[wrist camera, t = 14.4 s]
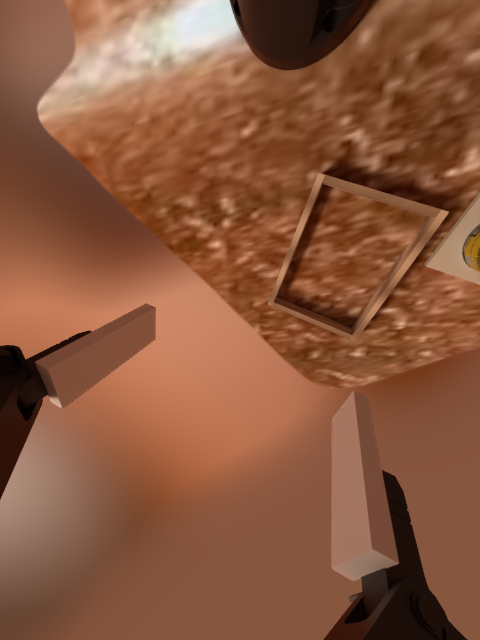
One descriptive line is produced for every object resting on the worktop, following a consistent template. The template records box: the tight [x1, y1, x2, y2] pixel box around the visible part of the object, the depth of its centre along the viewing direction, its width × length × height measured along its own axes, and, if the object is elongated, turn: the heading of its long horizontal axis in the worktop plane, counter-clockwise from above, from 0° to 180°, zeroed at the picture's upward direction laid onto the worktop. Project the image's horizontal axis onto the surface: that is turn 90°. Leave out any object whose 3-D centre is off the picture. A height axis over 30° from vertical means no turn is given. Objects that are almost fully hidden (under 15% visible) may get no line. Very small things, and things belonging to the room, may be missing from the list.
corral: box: [268, 173, 449, 341], centre depth 30 cm, size 19×15×2 cm
